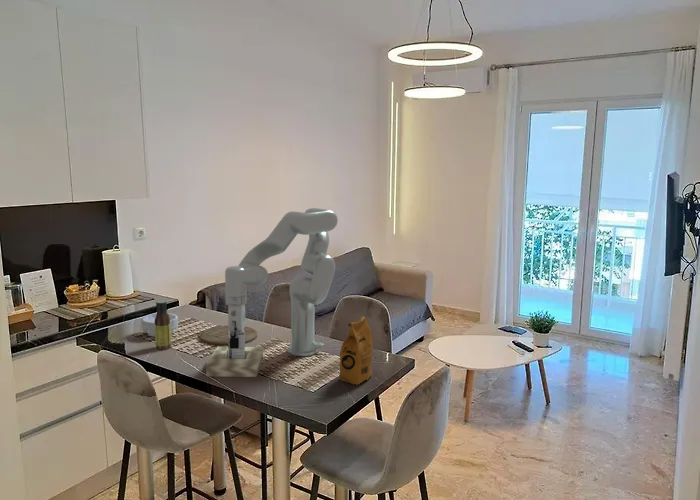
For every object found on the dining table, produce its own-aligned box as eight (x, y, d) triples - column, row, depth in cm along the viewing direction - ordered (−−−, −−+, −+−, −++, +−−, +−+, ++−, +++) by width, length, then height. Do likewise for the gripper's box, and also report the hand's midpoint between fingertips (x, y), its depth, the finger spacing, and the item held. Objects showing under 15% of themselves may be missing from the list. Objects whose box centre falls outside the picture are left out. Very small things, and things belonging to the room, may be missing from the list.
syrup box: (227, 364, 199) (227, 327, 197) (243, 362, 201) (243, 326, 199) (229, 369, 193) (229, 332, 191) (245, 368, 195) (245, 330, 193)
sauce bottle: (164, 344, 221) (163, 298, 218) (174, 347, 218) (173, 300, 215) (151, 348, 215) (150, 301, 212) (162, 351, 212) (160, 303, 209)
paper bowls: (167, 340, 226) (167, 323, 224) (135, 338, 228) (135, 320, 227) (184, 330, 240) (184, 314, 239) (153, 328, 243) (153, 311, 242)
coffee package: (334, 380, 187) (336, 321, 184) (352, 370, 197) (354, 314, 194) (358, 387, 182) (360, 326, 179) (375, 376, 192) (377, 318, 189)
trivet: (268, 334, 239) (268, 330, 238) (232, 350, 217) (231, 346, 216) (225, 326, 250) (225, 322, 250) (187, 340, 228) (187, 336, 228)
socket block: (263, 359, 206) (263, 347, 205) (256, 376, 188) (256, 363, 188) (217, 358, 206) (217, 346, 205) (206, 376, 188) (206, 363, 187)
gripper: (242, 305, 185) (242, 351, 187) (249, 294, 202) (250, 336, 205) (220, 305, 185) (221, 351, 187) (230, 294, 202) (231, 336, 204)
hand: (236, 343), depth 196 cm, fingers open, 9 cm apart
